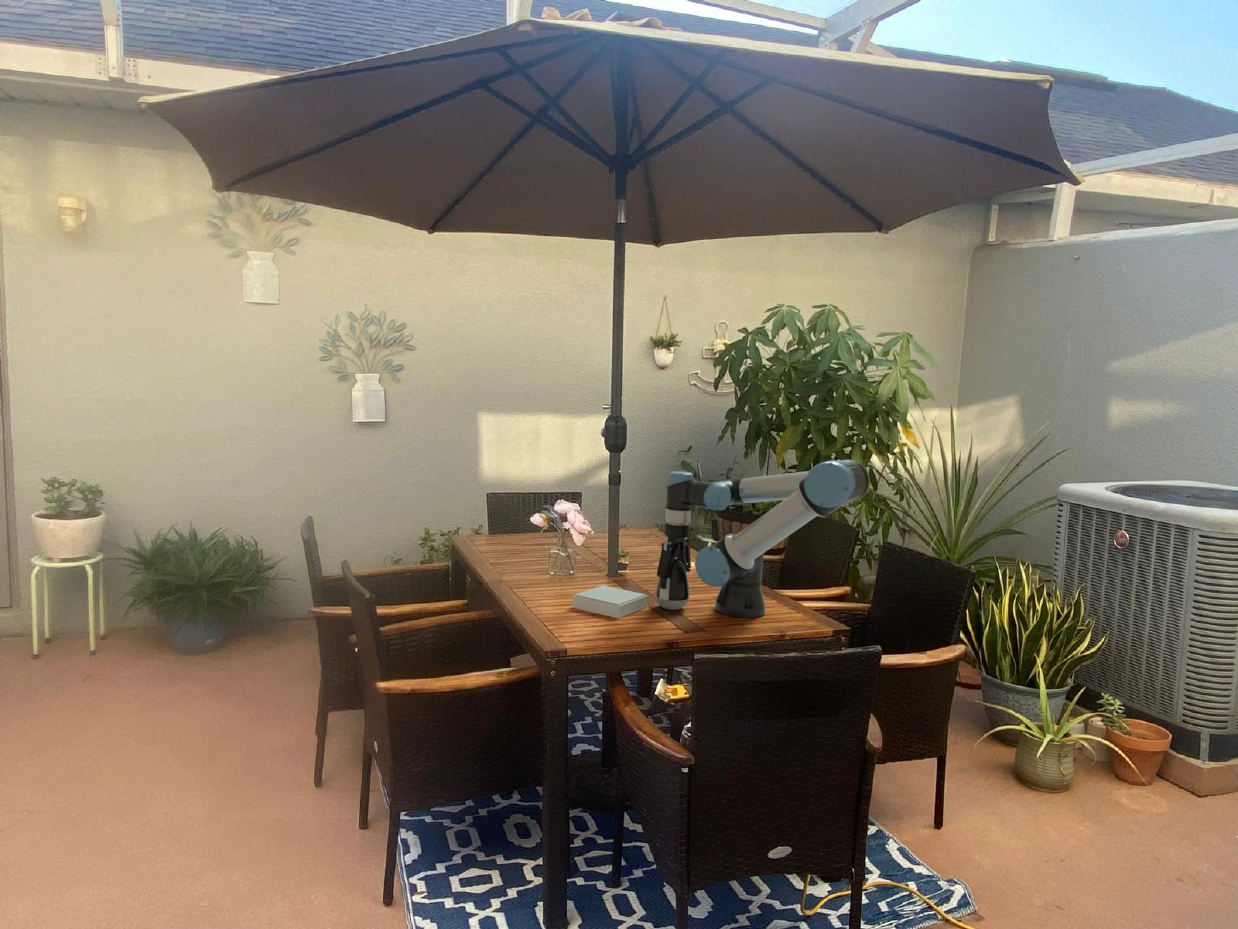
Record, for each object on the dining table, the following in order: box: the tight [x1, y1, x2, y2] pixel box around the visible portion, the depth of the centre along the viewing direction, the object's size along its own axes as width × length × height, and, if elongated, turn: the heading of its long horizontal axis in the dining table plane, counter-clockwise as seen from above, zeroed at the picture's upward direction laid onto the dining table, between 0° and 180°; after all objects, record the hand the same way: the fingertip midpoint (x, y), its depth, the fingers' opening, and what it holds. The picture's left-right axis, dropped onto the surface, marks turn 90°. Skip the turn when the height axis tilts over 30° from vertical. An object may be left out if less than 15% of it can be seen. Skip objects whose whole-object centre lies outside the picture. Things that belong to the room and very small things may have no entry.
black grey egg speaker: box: [655, 557, 690, 611], centre depth 251 cm, size 10×10×15 cm
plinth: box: [572, 585, 648, 619], centre depth 248 cm, size 16×16×4 cm
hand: (672, 595), depth 252 cm, fingers closed on black grey egg speaker, 10 cm apart
